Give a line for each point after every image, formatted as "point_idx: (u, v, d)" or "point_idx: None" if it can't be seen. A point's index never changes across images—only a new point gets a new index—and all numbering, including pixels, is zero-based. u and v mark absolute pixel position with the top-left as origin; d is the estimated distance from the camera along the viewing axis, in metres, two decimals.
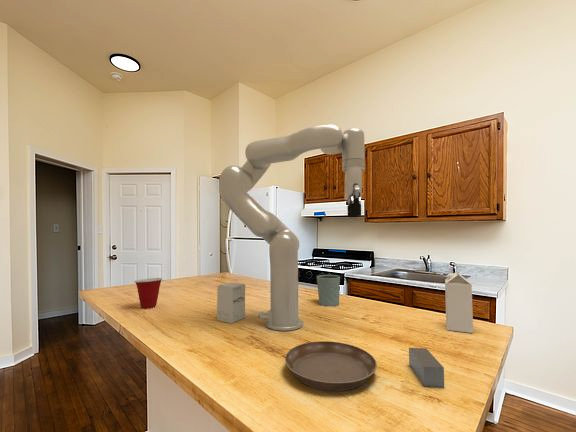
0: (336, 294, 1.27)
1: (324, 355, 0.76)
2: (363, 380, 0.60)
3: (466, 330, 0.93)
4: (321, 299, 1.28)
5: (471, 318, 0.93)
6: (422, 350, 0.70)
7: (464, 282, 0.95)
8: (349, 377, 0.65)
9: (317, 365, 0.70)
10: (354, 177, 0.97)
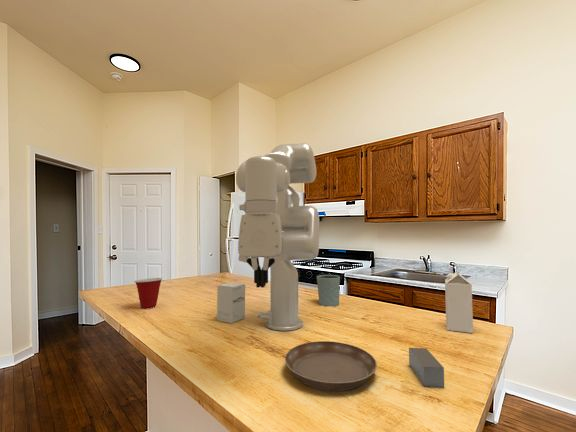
0: (336, 294, 1.27)
1: (324, 355, 0.76)
2: (363, 380, 0.60)
3: (466, 330, 0.93)
4: (321, 299, 1.28)
5: (471, 318, 0.93)
6: (422, 350, 0.70)
7: (464, 282, 0.95)
8: (349, 377, 0.65)
9: (317, 365, 0.70)
10: (281, 228, 0.71)
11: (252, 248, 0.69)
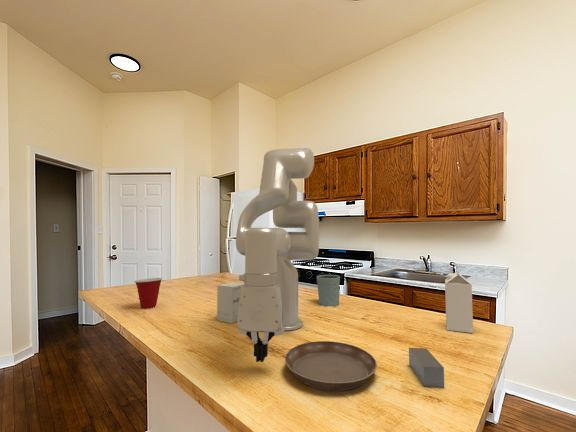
0: (336, 294, 1.27)
1: (324, 355, 0.76)
2: (363, 380, 0.60)
3: (466, 330, 0.93)
4: (321, 299, 1.28)
5: (471, 318, 0.93)
6: (422, 350, 0.70)
7: (464, 282, 0.95)
8: (349, 377, 0.65)
9: (317, 365, 0.70)
10: (281, 300, 0.70)
11: (252, 323, 0.68)
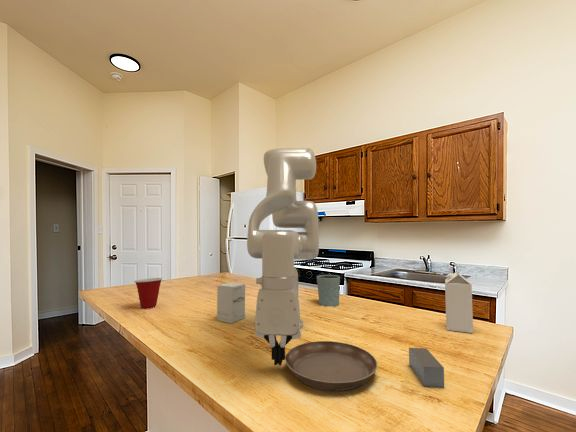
0: (336, 294, 1.27)
1: (324, 355, 0.76)
2: (364, 380, 0.60)
3: (466, 330, 0.93)
4: (321, 299, 1.28)
5: (471, 318, 0.93)
6: (422, 350, 0.70)
7: (464, 282, 0.95)
8: (350, 377, 0.65)
9: (317, 365, 0.70)
10: (298, 304, 0.69)
11: (270, 326, 0.67)
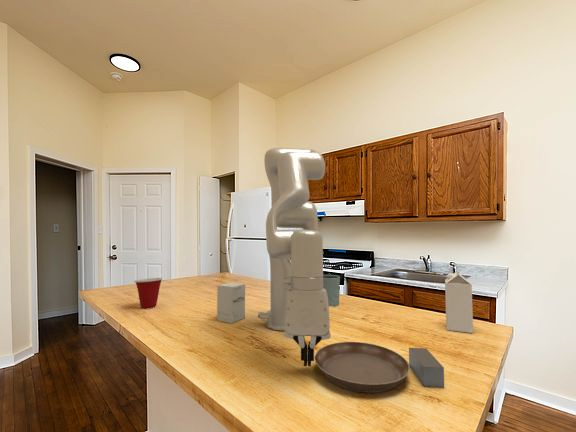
0: (336, 294, 1.27)
1: (352, 356, 0.75)
2: (398, 381, 0.59)
3: (466, 330, 0.93)
4: None
5: (471, 318, 0.93)
6: (422, 350, 0.70)
7: (464, 282, 0.95)
8: (381, 378, 0.64)
9: (347, 366, 0.70)
10: (328, 304, 0.69)
11: (300, 327, 0.67)
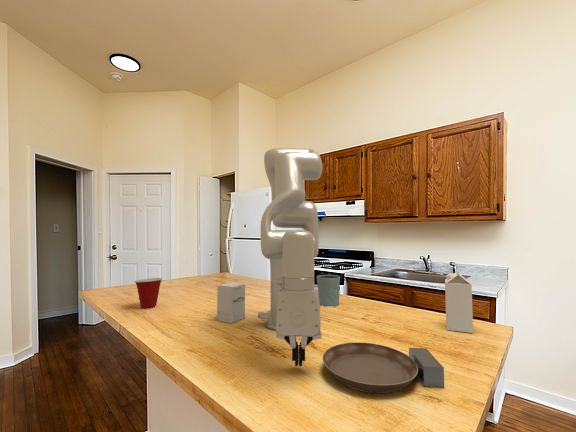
0: (336, 294, 1.27)
1: (359, 356, 0.75)
2: (407, 382, 0.59)
3: (466, 330, 0.93)
4: (321, 299, 1.28)
5: (471, 318, 0.93)
6: (422, 350, 0.70)
7: (464, 282, 0.95)
8: (390, 379, 0.64)
9: (354, 367, 0.70)
10: (319, 304, 0.69)
11: (291, 327, 0.67)
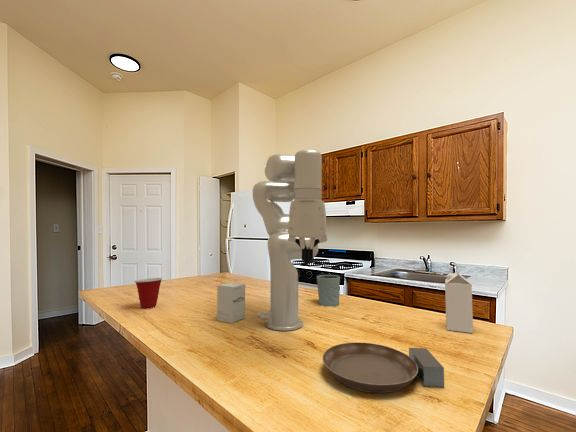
0: (336, 294, 1.27)
1: (359, 356, 0.75)
2: (407, 382, 0.59)
3: (466, 330, 0.93)
4: (321, 299, 1.28)
5: (471, 318, 0.93)
6: (422, 350, 0.70)
7: (464, 282, 0.95)
8: (390, 379, 0.64)
9: (354, 366, 0.70)
10: (325, 213, 0.81)
11: (301, 230, 0.79)
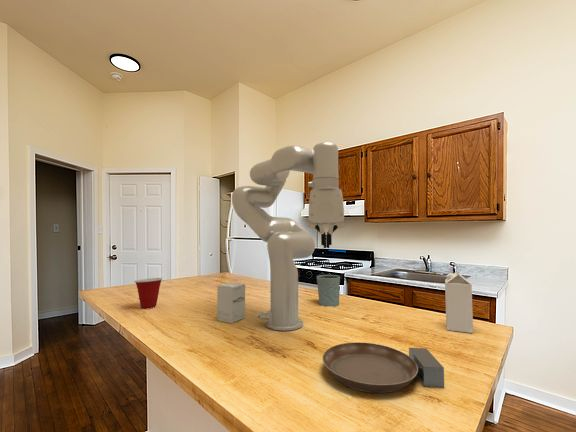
0: (336, 294, 1.27)
1: (359, 356, 0.75)
2: (407, 382, 0.59)
3: (466, 330, 0.93)
4: (321, 299, 1.28)
5: (471, 318, 0.93)
6: (422, 350, 0.70)
7: (464, 282, 0.95)
8: (390, 379, 0.64)
9: (354, 366, 0.70)
10: None
11: (321, 216, 0.85)
